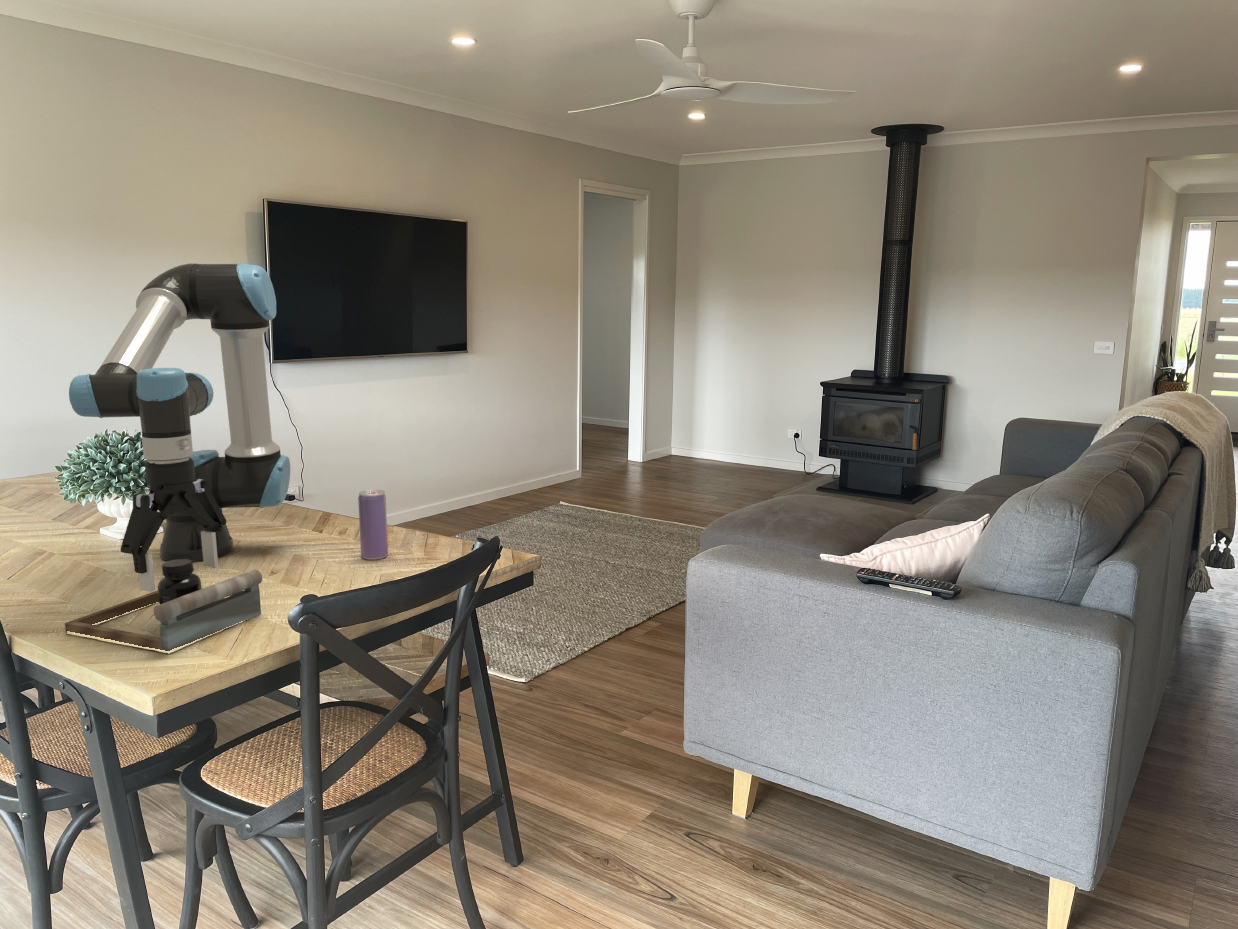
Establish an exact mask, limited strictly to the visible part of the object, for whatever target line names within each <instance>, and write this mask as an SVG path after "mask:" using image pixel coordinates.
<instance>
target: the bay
mask: <svg viewBox="0 0 1238 929" xmlns="http://www.w3.org/2000/svg"><path fill="white" fill-rule="evenodd" d="M262 582H263V575H262V573H261V571H260V570H258V569H252V570H249V571H247V572H245V573H244V572H243V573H242V574H239V575H236V576H233V577H230V578H228V579H225V580H222V581H220V582H217V583H215V584H212V585H209V586H206V587H203V588H202V589H200V590H198V591H195V592H192V593H190V594H187V595H184V596H182V597H179V598H176V599H174V600H171V601H168V602H165V603H163V604H160V603H159V604H158V605H156V606H155V607H154V608H153V614H154V615H153V616H154V618H155V619H156V620H157V621H158V622H160V623H159V624H158V626H159V636H160V637H159V636H153V635H148V634H142V633H137V632H133V631H127V630H121V629H118V628H117V629H116V628H112V627H106V626H102V625H101V626H100V625H97V626H96V625H92V624H95V623H98V622H101V621H104V620H108V619H110V618H113V617H115V616H119V615H122V614H124V613H126V612H130V611H132V610H135V609H138V608H141V607H144V606H147V605H149V604H153V603H156V602H159V594H158V589H157V590H155V591H152V592H151V591H150V592H149V593H146V594H143V595H141V596H138V597H135V598H133V599H129V600H126V601H123V602H120V603H118V604H115V605H112V606H109V607H107V608H104V609H101V610H98V611H95V612H92V613H90V614H87V615H84V616H81V617H78V618H75V619H72V620H70V621H67V622H65V623H64V627H65V632H66V631H70V632H75V633H80V634H85V635H90V636H95V637H100V638H104V639H111V640H115V641H119V642H124V643H129V644H134V645H138V646H142V647H149V648H155V649H160V650H165V651H170V650H172V649H174V648H177V647H180V646H183V645H185V644H188V643H191V642H193V641H195V640H197V639H200V638H203V637H205V636H207V635H210V634H213V633H215V632H217V631H220V630H222V629H224V628H226V627H229V626H232V625H234V624H236V623H239V622H241V621H244V620H247V619H249V620H251V619H253V618H252V617H254V618H256V617H258V616H260V615H262V609H261V595H260V594H261V593H260V587H259V588H258V586H257V585H258V584H259V585H260V584H261V583H262ZM243 590H244V591H243ZM240 591H242V592H240ZM237 592H239V593H237ZM235 593H237V594H235ZM232 594H234V595H232ZM202 606H203V607H202ZM199 607H201V608H199ZM197 608H199V609H197ZM194 609H196V610H194ZM192 610H194V611H192ZM189 611H191V612H189ZM187 612H189V613H187ZM184 613H186V614H184ZM182 614H184V615H182ZM179 615H181V616H179ZM177 616H178V617H177ZM255 616H256V617H255ZM250 618H251V619H250ZM247 621H248V620H247Z"/></svg>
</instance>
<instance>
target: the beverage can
mask: <svg viewBox="0 0 1238 929" xmlns="http://www.w3.org/2000/svg"><path fill="white" fill-rule="evenodd" d="M386 496H387V495H386V492H385V490H382V489H367V490H362V491H359V492H358V498H357V501H358V503H357V504H358V521H359V538H360V539H359V542H360V543H359V544H360V556H361V558H362V559H363V560H367V561H378V560H383V559H385V558H387V556H388V555H389V544H388V543H389V541H388V540H389V539H388V516H387V513H388V512H387V497H386Z"/></svg>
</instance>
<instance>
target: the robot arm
mask: <svg viewBox="0 0 1238 929" xmlns="http://www.w3.org/2000/svg"><path fill="white" fill-rule="evenodd" d="M275 293H276V292H275V289H274V285H273V283H272V280H271V277H270V276H269V274H268V271H266V270H265V268H264V267H262V266H260V265H258V264H257V265H256V264H247V263H246V264H245V263H241V262H240V263H185V264H180V265H177V266H173V267H172V268H170V269H168V270H166V271H164V272H163V273H160V274H159V275H157V276H156V277H154V278H152V280H150V282H148V283H147V285H145V286H144V287H143V288H142V290H141V292H140V293H139V294H138V296H137V297H136V302H135V308H136V310H135V312H134V313H133V315H132V316H131V318H130V319H129V321H128V322H127V324H126V326H125V327H124V329H123V330H122V332H121V333H120V335H119V336H118V338H117V340H116V341H115V343H114V344H113V346H112V347H111V349H110V351H109V352H108V354H107V356H106V357H105V359H104V360H103V362H102V363H101V365H99V368H98V369H97V371H96V372H95V374H91V373H87V374H82V375H80V374H79V375H76V376H74V377H73V378H72V379H71V382H70V383H69V384H70V385H69V388H68V399H69V403H70V405H71V408H72V409H73V410H72V411H74V413H76V415H78V416H80V417H84V418H85V417H88V418H99V419H103V418H130V417H131V418H134V417H135V418H137V417H139V419H140V428H141V439H142V440H141V441H142V451H143V453H142V455H143V459H144V460H146V462H145V464H144V469H145V470H144V471H145V479H146V482H147V484H148V485H149V492H148V493H146V494H145V493H144V494H143V493H142V494H139V493H134V494H133V496H132V509H131V512H130V517H129V520H128V522H127V526H126V528H125V529H126V530H125V533H124V536H123V538H122V542H121V545H120V549H119V550H120V552H121V553H122V554H123V553H124V554H128V555H132V558H133V559H132V560H133V566H134V567H133V568H134V572H135V573H136V574H138V585H139V586H138V587H139V590H141V591H147V592H150V593H151V592H154V591H157V590H156V582H155V573H154V572H155V571H154V562H153V561H154V560H153V553H152V552H148V551H149V549H150V547H151V546H152V543H153V542H154V540H155V537H156V535H157V534H158V532H159V530H160V528H161V527H162V524H163V522H164V520H165V521H166V523H165V527H164V531H163V538H162V543H160V546H159V553H160V554H159V555H160V558H161V559H162V560H164V561H166V562H167V561H171V560H176V559H189V560H192V562H201V561H203V566H204V567H209V568H213V569H216V568H218V567H219V558H221V557H224V556H227V555H229V554H231V553H232V552H233V551H234V549H235V548H234V539H233V538H232V536H231V534H230V531H229V529H228V526H227V519H226V517H225V515H224V513H223V509H233V508H234V509H237V508H239V509H241V508H260V509H263V508H270V507H278V506H280V505H281V504H283V503H284V501H285V499H286V497H287V494H288V490H289V486H290V480H291V462H290V458H289V456H288V455H285V454H281V447H280V445H279V444H277V443H276V442H275V441H274V440H273V437H272V436H273V434H272V425H271V414H270V404H269V393H268V383H267V382H268V381H267V371H266V370H267V369H266V358H265V350H264V339H263V337H264V336H263V335H264V334H265V333H266V331H267V330H268V329H269V328H270V323H269V321H271V320H274V319H275V318H276V316H277V298H276V294H275ZM189 320H209V321H210V328H211V330H212V331H213V332H215V333H216V334H217V335H218V336H219V341H220V342H219V343H220V351H221V360H222V371H223V378H224V388H225V389H224V390H225V398H226V409H227V417H228V418H227V419H228V428H229V436H230V444H229V446H227V448H225V450H224V456H219V455H220V454H219V452H218V450H217V449H204V450H203V449H201V450H196V451H195V450H194V449H193V438H192V428H191V417H192V416H196V415H198V414H201V413H203V412H204V411H205V410H206V409H207V408H209V406H211V404H212V402H213V400H214V388H213V386H212V384H211V382H210V380H208V378H206V377H205V376H203V375H202V374H200V373H197V372H185V371H184V370H183V369H182V368H179V367H154V366H155V364H156V362H157V361H158V358H159V357H160V355H161V354H162V351H163V350H164V349H165V346H166V344H167V343H168V341H169V339H170V337H171V335H172V334H173V332H174V330H176V329H178V328H180V327H181V326H182V325H184V323H185V322H186V321H189ZM153 367H154V368H153ZM193 450H194V451H193Z"/></svg>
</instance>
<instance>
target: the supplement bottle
mask: <svg viewBox="0 0 1238 929" xmlns="http://www.w3.org/2000/svg"><path fill="white" fill-rule="evenodd" d="M193 563H194V561H192V560H189V559H176V560H171V561H167V560H166V561H165V562H163V563H162V565H161V569H162V572H161V574H162V576H163V577H162V578H161V579H160V580H159V582H158V584H157V590H158V594H159V603H158V604H159V605H160V604H163V603H165V602H168V601H171V600H174V599H176V598H179V597H182V596H184V595H187V594H190V593H192V592H195V591H198V590H200V589H203V588H202V580H201V578H200V576H199V575H197V574H195V573H193V572H194V571H195V570H194V569H195V568H194V564H193ZM202 607H203V606H202ZM199 608H201V607H199ZM199 608H197V609H199ZM194 610H196V609H194ZM194 610H192V611H194ZM189 612H191V611H189ZM189 612H187V613H189ZM184 614H186V613H184ZM184 614H182V615H184ZM179 616H181V615H179ZM177 617H178V616H177Z"/></svg>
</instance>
